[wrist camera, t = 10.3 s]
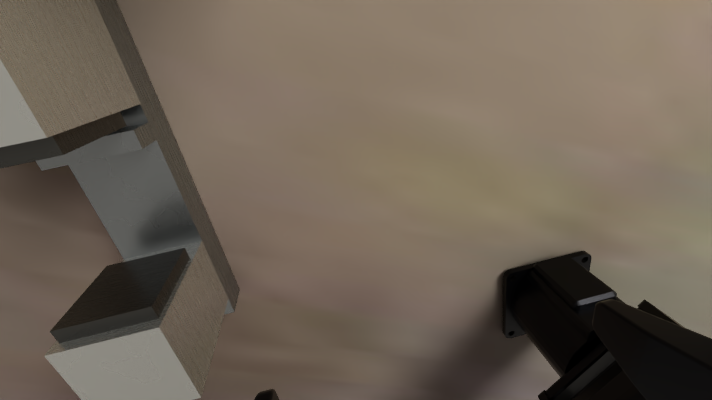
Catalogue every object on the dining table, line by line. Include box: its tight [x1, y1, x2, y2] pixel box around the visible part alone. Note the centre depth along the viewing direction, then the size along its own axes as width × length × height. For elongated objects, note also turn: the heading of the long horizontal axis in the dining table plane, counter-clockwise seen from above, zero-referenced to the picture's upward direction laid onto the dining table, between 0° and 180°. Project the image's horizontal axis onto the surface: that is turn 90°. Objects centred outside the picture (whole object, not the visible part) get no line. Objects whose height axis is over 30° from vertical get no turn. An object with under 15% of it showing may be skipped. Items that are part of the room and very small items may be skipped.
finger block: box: [0, 0, 141, 168], centre depth 11 cm, size 5×4×6 cm
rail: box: [36, 0, 240, 400], centre depth 14 cm, size 18×4×8 cm, turn 10°
